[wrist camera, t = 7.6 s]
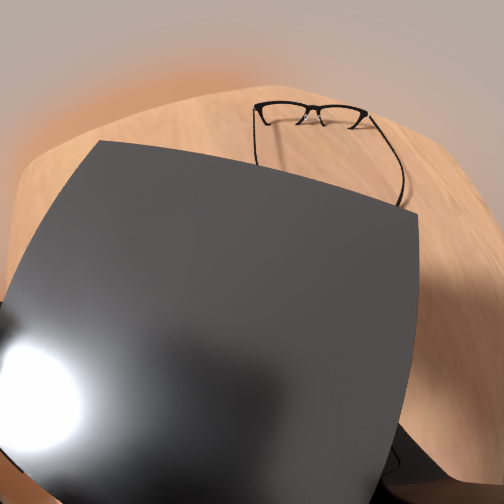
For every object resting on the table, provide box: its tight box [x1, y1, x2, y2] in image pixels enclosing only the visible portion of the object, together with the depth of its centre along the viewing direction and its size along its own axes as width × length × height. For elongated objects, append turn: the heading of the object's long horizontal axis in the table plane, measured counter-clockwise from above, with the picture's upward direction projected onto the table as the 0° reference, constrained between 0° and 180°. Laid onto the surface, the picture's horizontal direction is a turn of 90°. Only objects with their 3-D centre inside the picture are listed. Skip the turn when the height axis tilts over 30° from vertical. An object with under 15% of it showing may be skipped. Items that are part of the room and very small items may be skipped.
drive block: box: [0, 140, 419, 504], centre depth 8 cm, size 6×6×12 cm
